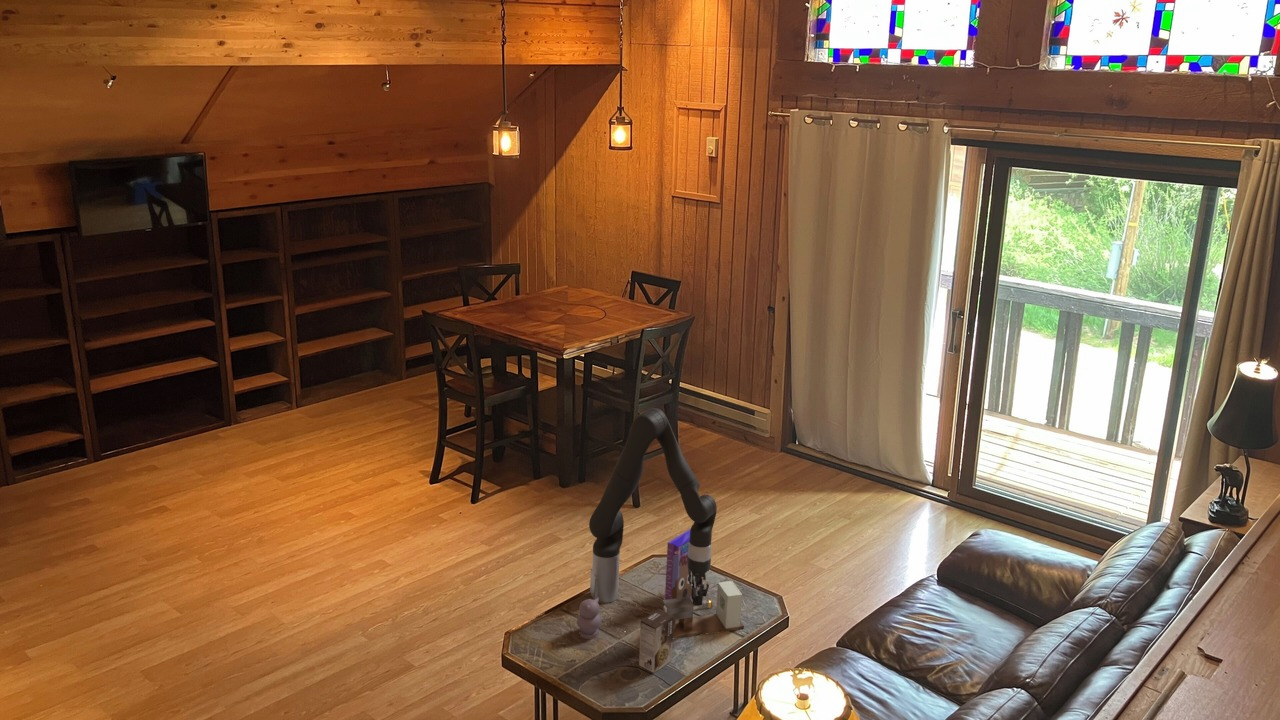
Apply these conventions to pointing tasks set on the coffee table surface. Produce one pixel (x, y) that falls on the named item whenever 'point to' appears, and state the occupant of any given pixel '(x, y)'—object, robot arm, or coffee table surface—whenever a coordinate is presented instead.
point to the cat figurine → (589, 619)
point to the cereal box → (678, 568)
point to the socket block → (728, 604)
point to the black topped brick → (705, 604)
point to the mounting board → (692, 619)
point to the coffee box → (656, 640)
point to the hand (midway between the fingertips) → (696, 601)
